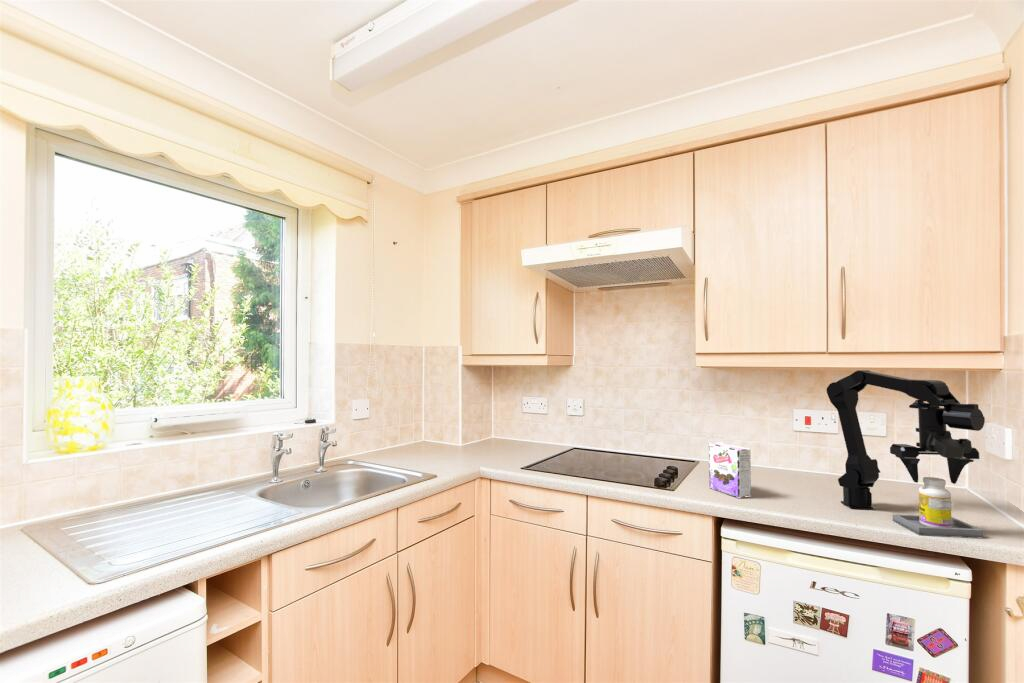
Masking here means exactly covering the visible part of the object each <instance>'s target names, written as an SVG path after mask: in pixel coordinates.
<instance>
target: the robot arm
mask: <svg viewBox="0 0 1024 683" xmlns="http://www.w3.org/2000/svg"><path fill="white" fill-rule="evenodd" d="M867 385H870V386H874V387H878V388H882V389H888V390H893V391H896V392H900V393H903V394H905V395H907V396H909V397H911V398H913V399H915V401H914V402H912V403H911V404H910V405H908V408H909V409H917V410H918V411H917V413H918V415H917V416H918V427H915V432H916V433H918V436H919V437H918V438H919V440H918V441H919V442H916V444H915V445H916V446H914V445H910V444H907V443H892V444H891V446H890V447H889V454H891V455H895V457H896V458H899V459H900V461H901V462H902V464H903V465H904V466H905V469H906V471H908V474H909V475H910V477H911V479H912V481H913V482H914V483H916V484H917V483H919V466H918V464H919V462H920V461H921V459H920V458H918V456H920V455H929V456H930V455H932V456H934V455H935V456H937V455H939V456H941V457H943V458H945V459H946V461H947V468H948V475H949V476H948V477H949V480H950V483H951V484H953V485H955V484H957V482H958V479H959V477H960V475H961V473H962V471H963V469H964V467H965V466H966V465H968V464H970V463H973V462H974V461H975V460H980V452H979V450H978V449H977V448H976V447H972V441H971V440H970V439H968V438H957V439H954V438H952V433H951V431H950V430H947V426H948V427H949V428H951V429H958V430H959V429H960V430H968V431H975V432H978V431H979V432H980V431H981V430H982V429H983V428H984V426H985V422H986V419H985V416H984V414H983V412H982V411H981V409H980V408H979V404H978V403H960V401H959V400H958V399H957V398H956V396H955V395H954V394H953V393H951V391H950V388H949V386H948V385H947V384H946V382H944V381H942V380H937V379H910V378H905V377H899V376H895V375H891V374H890V375H889V374H885V373H879V372H875V371H871V370H867V369H865V370H864V369H863V370H861V369H860V370H859V369H858V370H855V371H854V372H852V373H851V374H849V375H848V376H845V377H843V378H840V379H838V380H837V381H834V382H830V383H829V384H828V386H827V387H826V394H827V396H828V399H829V401H830V403H831V404H832V405H833V407H834V408H835V409H836V410H837V413H838V417H839V422H840V426H841V430H842V435H843V439H844V443H845V447H846V452H847V458H846V461H845V467H844V468H845V473H844V474H843V475H841V476H840V477H838V479H837V481H838V485H839V486H840V487H842V493H843V494H842V497H843V500H841V501H840V503H841V504H843V505H844V506H846V507H848V508H850V509H853V510H855V509H857V510H874V507H873V499H872V498H873V497H872V496H873V494H872V492H871V488H874V485H875V483H876V482H877V480H879V477H880V473H881V470H880V469H879V466H878V465H879V463H878V461H877V460H878V459H876V458H873V459H872V458H871V457H870V456H869V455H868V453H867V449H866V445H865V441H864V436H863V434H862V433H863V432H862V429H861V425H860V421H859V417H858V413H857V406H858V402H859V392H861V391H863V390H864V389H865V388H866V387H867Z"/></svg>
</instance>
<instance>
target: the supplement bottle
mask: <svg viewBox="0 0 1024 683" xmlns="http://www.w3.org/2000/svg"><path fill="white" fill-rule="evenodd" d="M946 482H947V481H946V480H945V479H943V478H939V477H934V476H933V477H932V476H924V477H922V483H923V485H922V486H920V487H919V489H918V515H919V521H920V523H921V524H922V525H924V526H927V527H944V528H951V527H952V523H951V517H952V494H951V492H950V491H949V490H948V489H947V488H946V484H947V483H946Z"/></svg>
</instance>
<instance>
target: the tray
mask: <svg viewBox="0 0 1024 683" xmlns="http://www.w3.org/2000/svg"><path fill="white" fill-rule="evenodd" d="M893 521H894V523H895V522H896V523H895V524H897V523H898V524H897V525H899V526H901V527H903V528H904V529H907V530H909V531H910V532H912V533H915V534H916V535H918V536H925V537H927V536H928V537H929V536H930V537H947V538H948V537H951V536H962V537H961V538H968V537H983V538H982V539H984V529H982V528H978V527H977V526H974V525H971V524H969V523H967V522H965V521H963V520H961V519H958V518H956V517H953V516H951V523H952V527H951V528H944V527H927V526H924V525H922V524H921V523H920V521H919V514H918V515H917V514H900V513H899V514H898V513H895V514H894V513H892V522H893ZM951 538H952V537H951Z"/></svg>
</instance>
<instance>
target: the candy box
mask: <svg viewBox="0 0 1024 683" xmlns="http://www.w3.org/2000/svg"><path fill="white" fill-rule="evenodd" d="M751 465H752V464H751V448H747V447H743V446H738V445H733V444H729V443H724V442H721V441H719V442H710V443H708V466H709V467H708V468H709V470H708V474H709V477H708V478H709V480H708V481H709V488H710V487H711V488H714V489H717V490H720V491H723V492H725V493H728V494H731V495H734V496H736V497H745V496H751V497H752V492H751V491H752V484H751V483H752V482H751V481H752V480H751V479H752V476H751V474H752V473H751V472H752V471H751V470H752V469H751V468H752V467H751ZM711 488H710V489H711ZM725 493H724V494H725ZM728 494H727V495H728ZM731 495H730V496H731ZM736 497H735V498H736Z"/></svg>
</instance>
